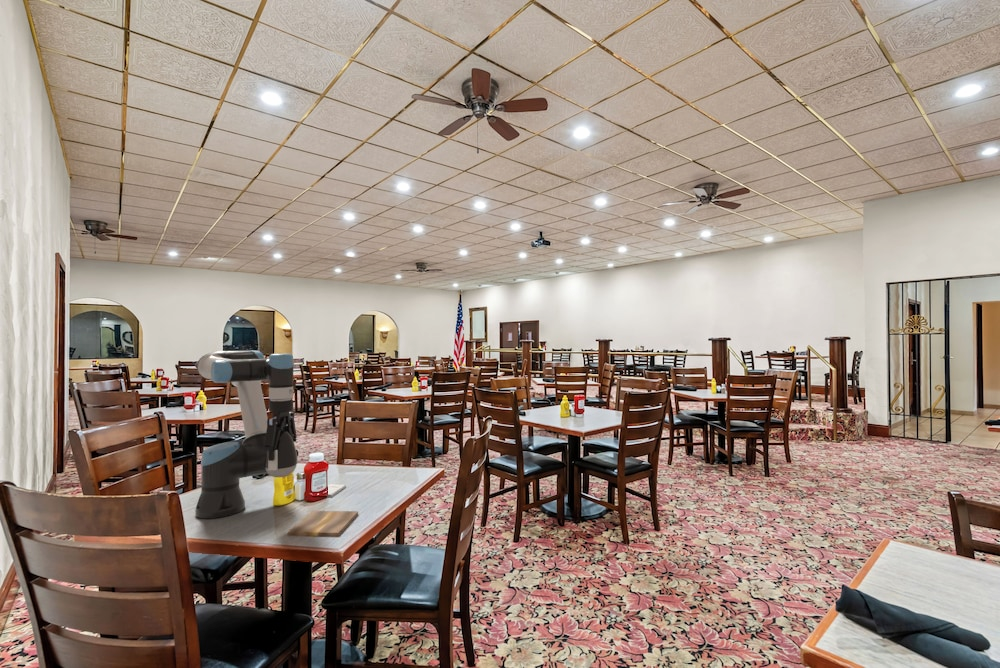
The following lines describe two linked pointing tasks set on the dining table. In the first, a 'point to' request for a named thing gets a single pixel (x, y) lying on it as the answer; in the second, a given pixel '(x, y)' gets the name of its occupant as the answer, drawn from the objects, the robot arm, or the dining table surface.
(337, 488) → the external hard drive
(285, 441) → the dark grey rounded ovoid
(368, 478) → the dining table surface
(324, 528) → the board
